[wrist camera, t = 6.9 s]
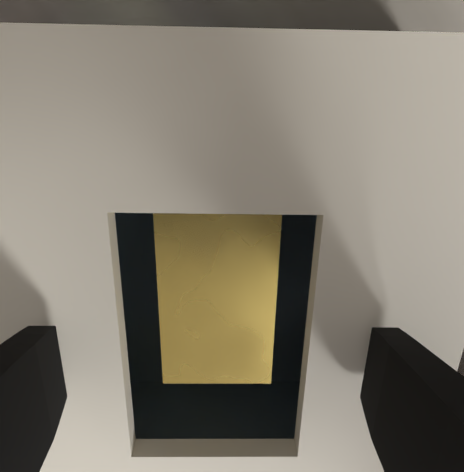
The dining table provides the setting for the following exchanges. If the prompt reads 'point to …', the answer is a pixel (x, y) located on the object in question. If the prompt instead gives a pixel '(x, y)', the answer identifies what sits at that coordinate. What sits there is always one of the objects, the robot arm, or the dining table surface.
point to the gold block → (217, 296)
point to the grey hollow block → (229, 202)
